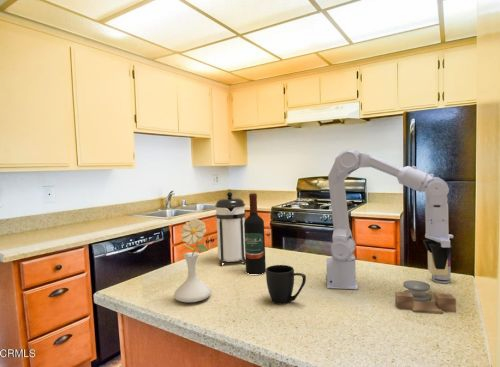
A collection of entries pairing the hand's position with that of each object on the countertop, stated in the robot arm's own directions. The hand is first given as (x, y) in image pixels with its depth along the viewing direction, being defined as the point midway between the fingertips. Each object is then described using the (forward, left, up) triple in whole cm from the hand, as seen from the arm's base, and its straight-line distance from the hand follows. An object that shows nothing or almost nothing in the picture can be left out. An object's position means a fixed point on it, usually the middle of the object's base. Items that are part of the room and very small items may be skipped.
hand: (437, 266), depth 94 cm
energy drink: (+5, +15, -9) cm, 18 cm away
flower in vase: (-71, -11, -9) cm, 72 cm away
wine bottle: (-58, +17, -9) cm, 61 cm away
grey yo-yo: (-6, 0, -9) cm, 11 cm away
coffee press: (-72, +31, -9) cm, 79 cm away
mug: (-43, -9, -9) cm, 45 cm away
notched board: (-6, -8, -9) cm, 14 cm away
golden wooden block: (0, 0, -2) cm, 2 cm away
